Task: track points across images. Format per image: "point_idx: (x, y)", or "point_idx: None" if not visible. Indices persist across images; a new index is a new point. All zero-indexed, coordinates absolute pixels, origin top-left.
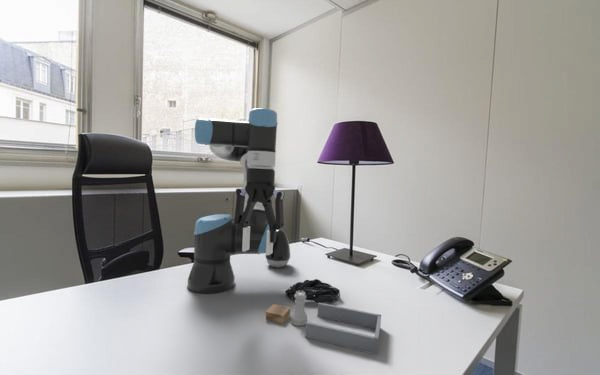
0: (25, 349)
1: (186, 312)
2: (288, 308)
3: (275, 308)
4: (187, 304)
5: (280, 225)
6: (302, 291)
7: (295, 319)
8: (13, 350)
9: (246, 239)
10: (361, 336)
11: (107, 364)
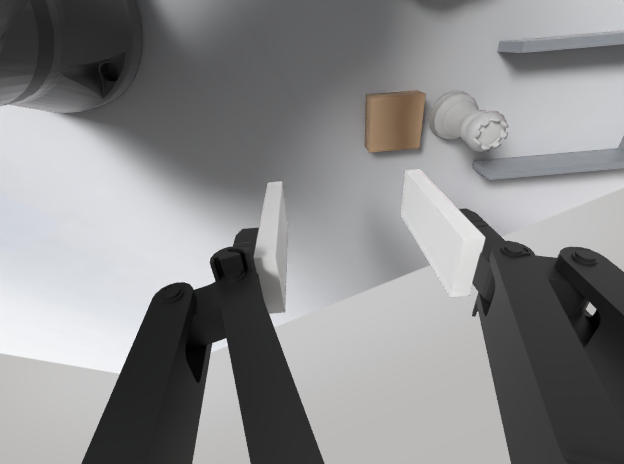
0: (112, 361)
1: (181, 207)
2: (421, 102)
3: (386, 122)
4: (143, 178)
5: (585, 318)
6: (498, 122)
7: (449, 138)
8: (104, 366)
9: (285, 246)
10: (616, 168)
11: None
